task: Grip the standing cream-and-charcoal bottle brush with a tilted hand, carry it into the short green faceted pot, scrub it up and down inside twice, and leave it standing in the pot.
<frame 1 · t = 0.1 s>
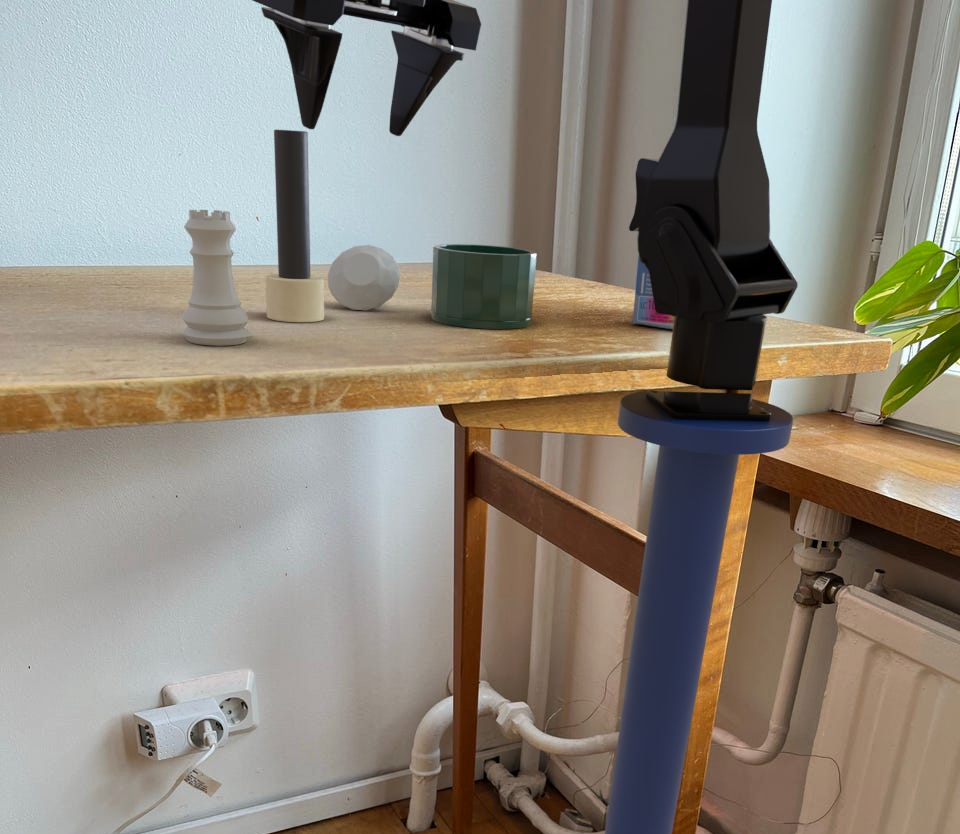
hand: (353, 131, 78), 13 cm above the table, tool pointing down, fingers open, 9 cm apart
gemstone: (363, 309, 84), on the table
rook chess piece: (217, 343, 66), on the table
green faceted pot: (481, 320, 80), on the table
ink cartridge box: (677, 325, 86), on the table
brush: (295, 317, 76), on the table
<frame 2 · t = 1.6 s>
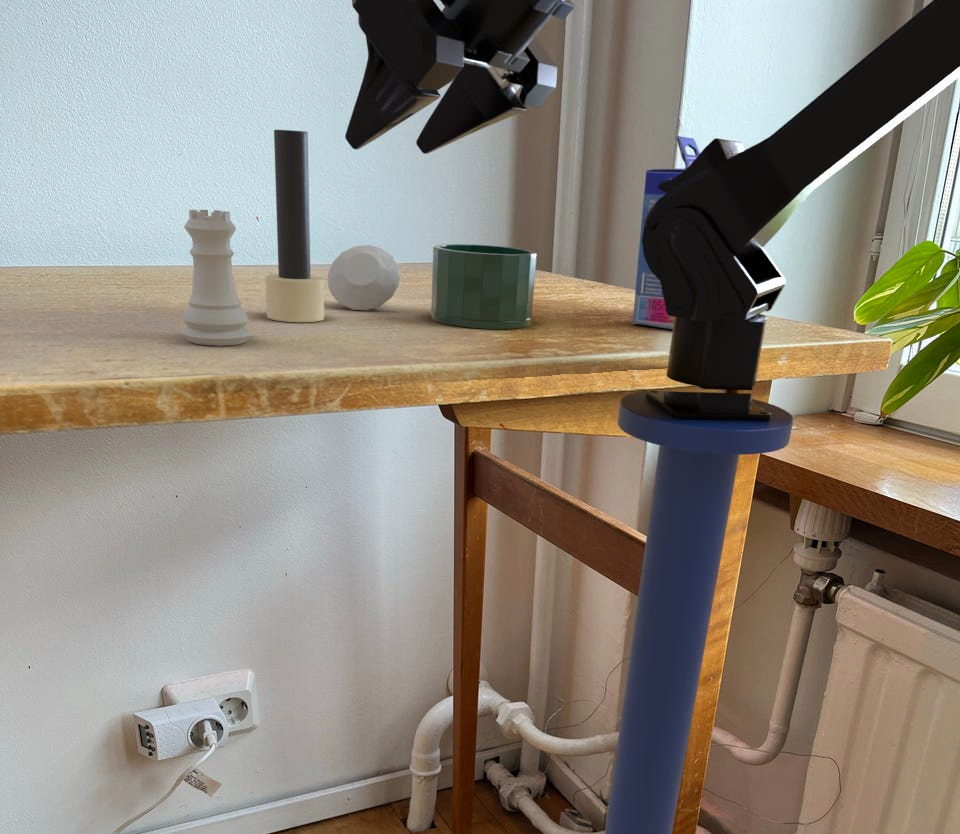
hand: (387, 146, 68), 12 cm above the table, tool tilted 45°, fingers open, 9 cm apart
nothing on the table moved.
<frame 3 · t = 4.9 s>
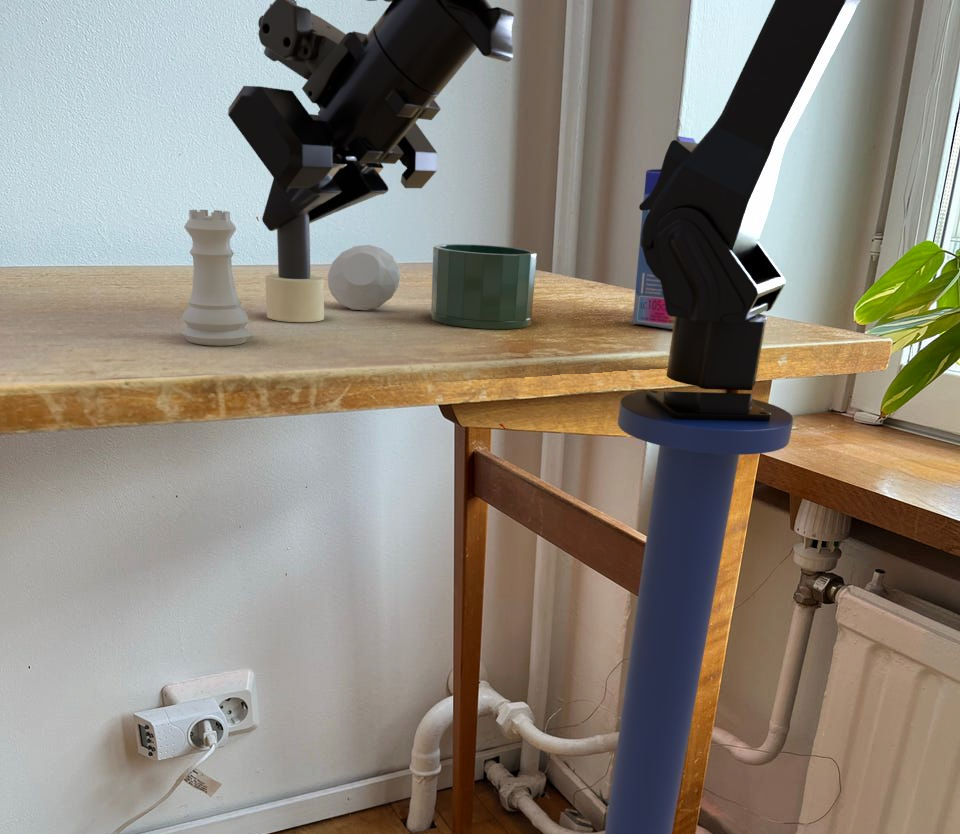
hand: (278, 225, 74), 7 cm above the table, tool tilted 45°, fingers closed on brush, 2 cm apart
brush: (295, 317, 76), on the table, touching gripper
everything else where it was.
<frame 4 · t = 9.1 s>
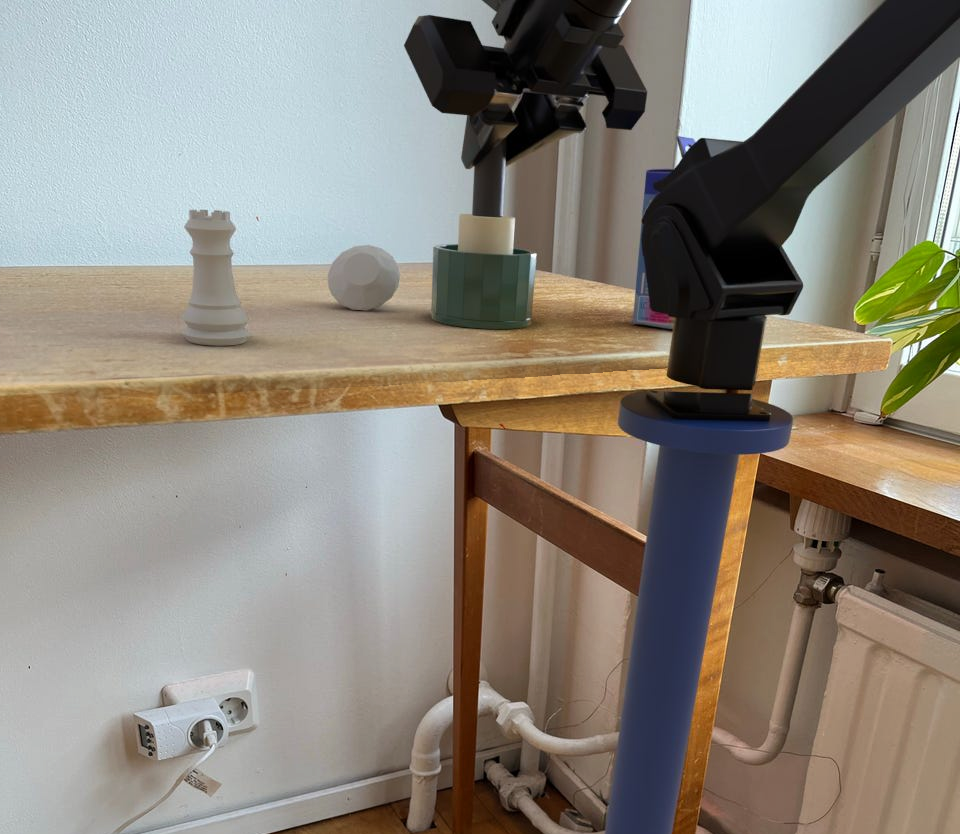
hand: (479, 165, 76), 11 cm above the table, tool tilted 45°, fingers closed on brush, 2 cm apart
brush: (485, 256, 78), point 5 cm above the table, touching gripper
everything else where it was.
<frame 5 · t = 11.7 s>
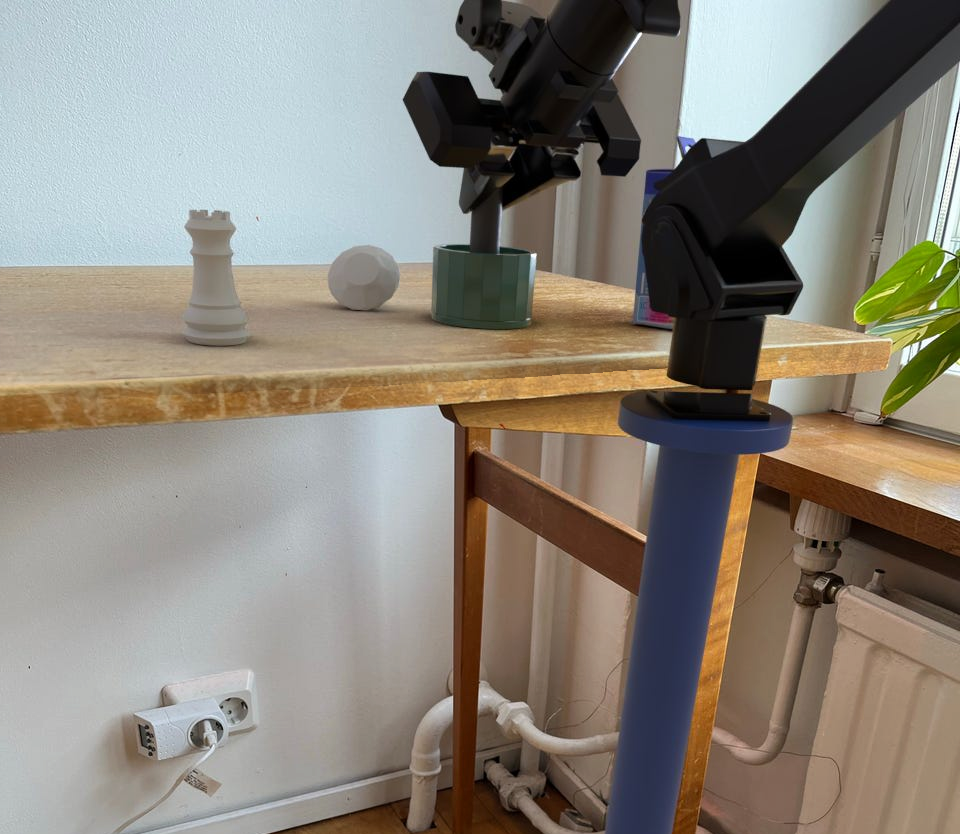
hand: (476, 209, 78), 8 cm above the table, tool tilted 45°, fingers closed on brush, 2 cm apart
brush: (481, 298, 80), point 2 cm above the table, touching gripper
everything else where it was.
when the fingers open (7 cm above the table, at t = 13.4 s): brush stays where it is, resting on green faceted pot.
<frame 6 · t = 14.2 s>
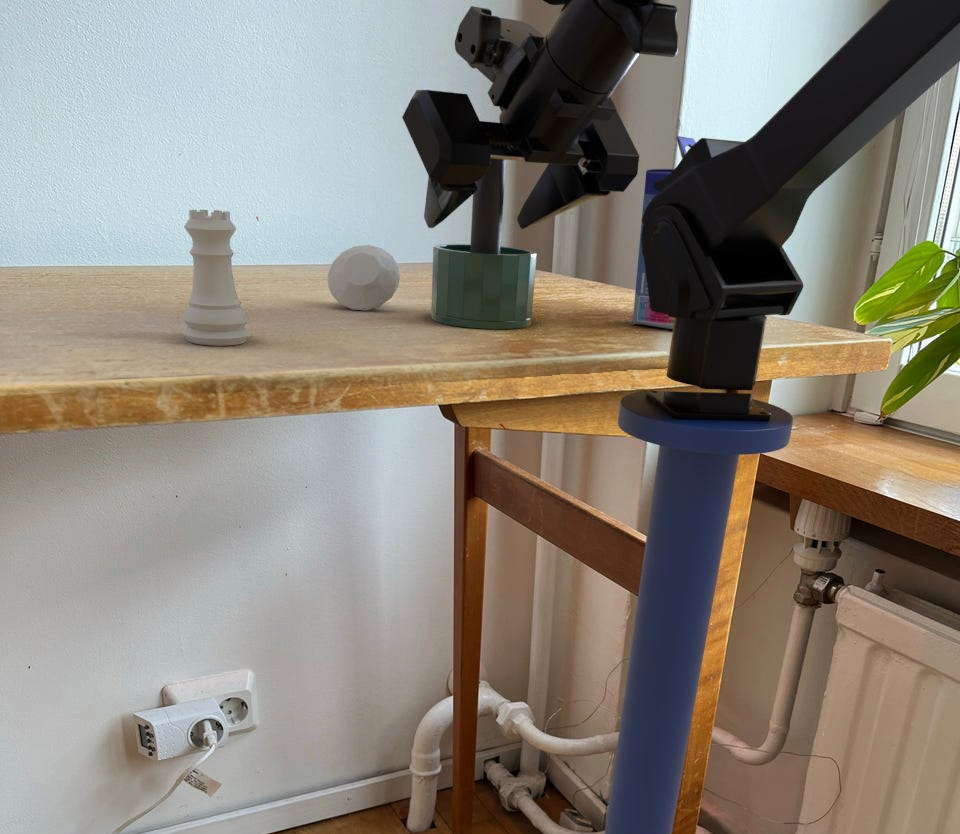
hand: (475, 223, 78), 7 cm above the table, tool tilted 45°, fingers open, 9 cm apart
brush: (481, 313, 80), point 1 cm above the table, touching green faceted pot
everything else where it was.
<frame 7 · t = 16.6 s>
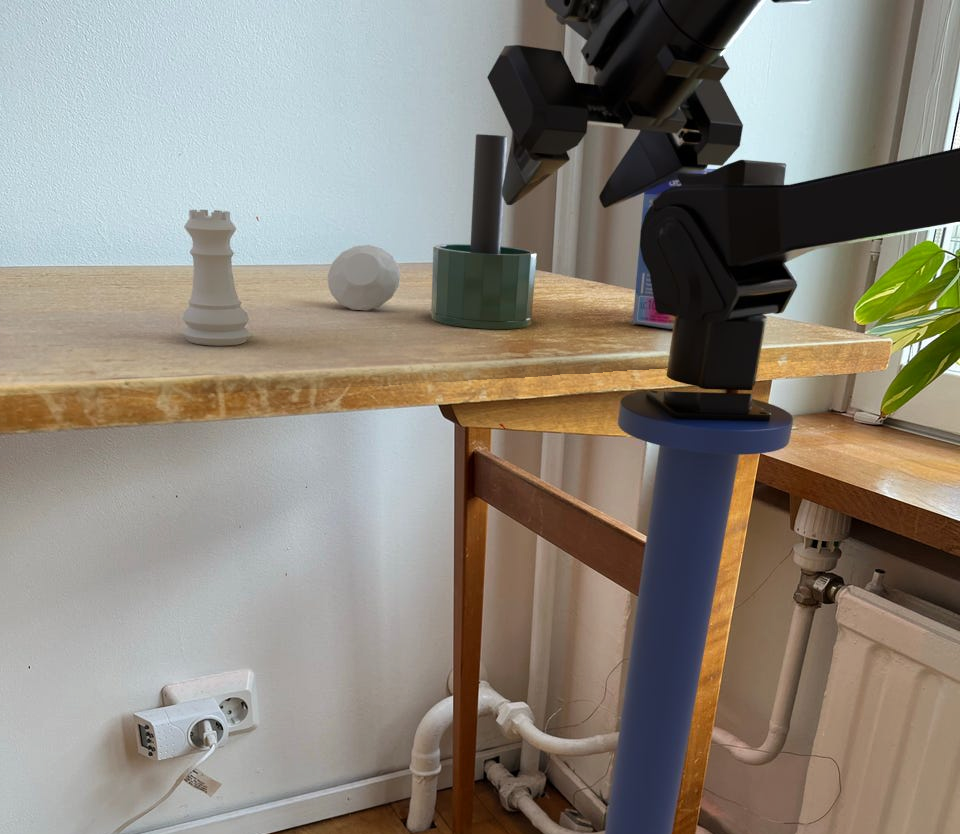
hand: (555, 201, 71), 10 cm above the table, tool tilted 45°, fingers open, 9 cm apart
nothing on the table moved.
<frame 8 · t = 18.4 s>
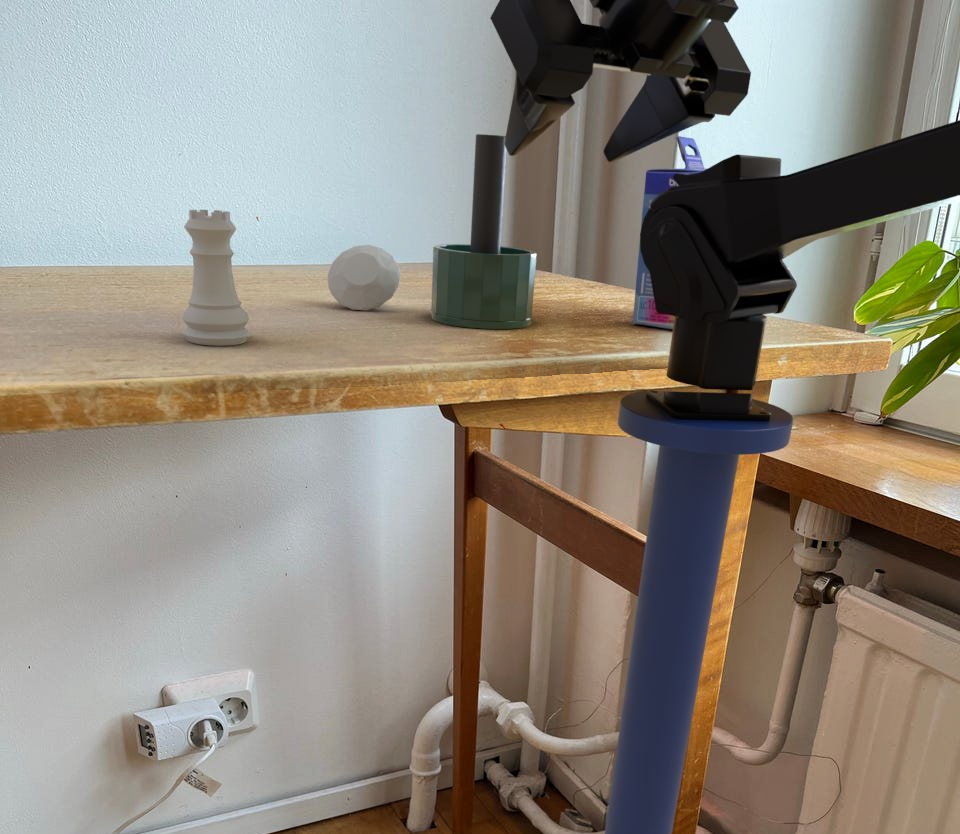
hand: (559, 153, 69), 13 cm above the table, tool tilted 45°, fingers open, 9 cm apart
nothing on the table moved.
at the end: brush 0.0 cm off-centre in the green faceted pot, point 0.6 cm above the green faceted pot's base; the gripper is holding nothing; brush moved 15.1 cm from its start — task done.
